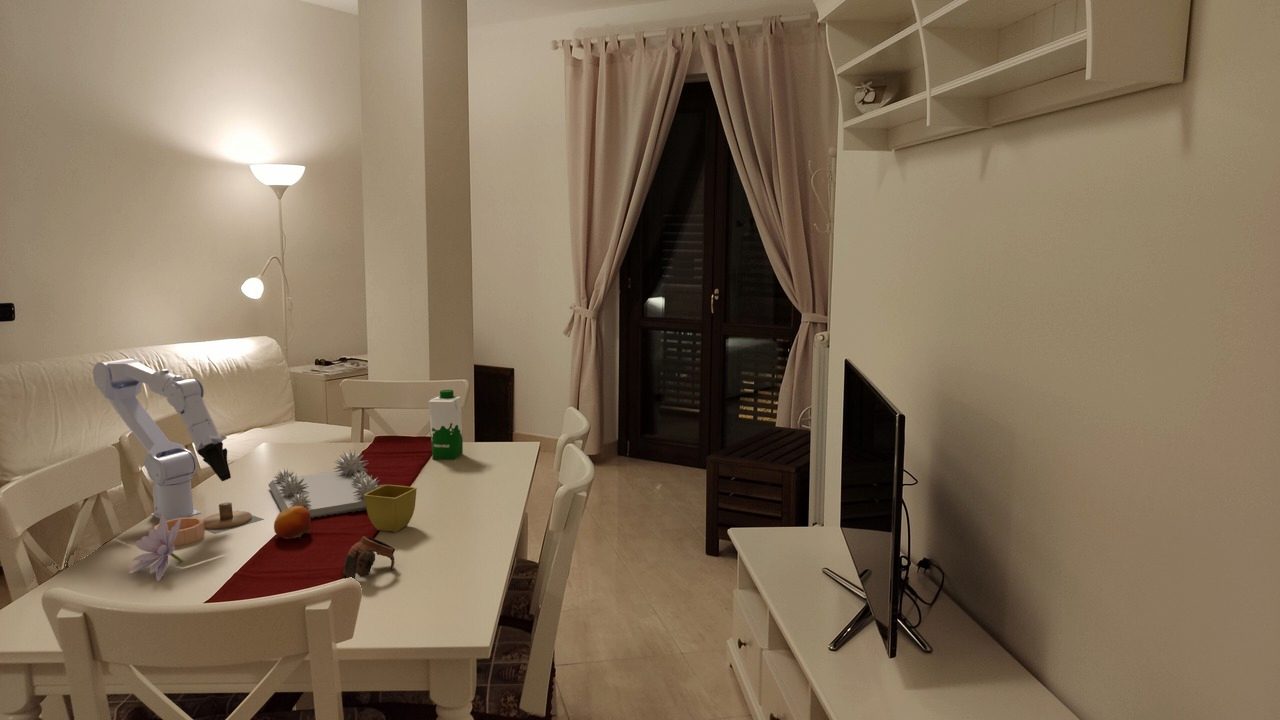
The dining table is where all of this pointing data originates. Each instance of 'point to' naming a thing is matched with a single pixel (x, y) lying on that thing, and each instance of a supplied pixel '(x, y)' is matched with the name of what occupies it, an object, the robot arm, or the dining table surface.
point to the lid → (226, 518)
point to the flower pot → (390, 506)
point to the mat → (254, 519)
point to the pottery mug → (366, 556)
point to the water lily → (157, 548)
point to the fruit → (292, 522)
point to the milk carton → (446, 426)
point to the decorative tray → (326, 488)
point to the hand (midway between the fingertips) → (224, 477)
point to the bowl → (187, 530)
